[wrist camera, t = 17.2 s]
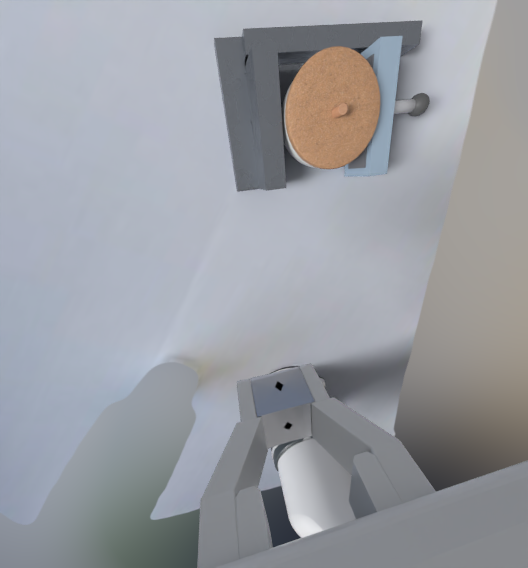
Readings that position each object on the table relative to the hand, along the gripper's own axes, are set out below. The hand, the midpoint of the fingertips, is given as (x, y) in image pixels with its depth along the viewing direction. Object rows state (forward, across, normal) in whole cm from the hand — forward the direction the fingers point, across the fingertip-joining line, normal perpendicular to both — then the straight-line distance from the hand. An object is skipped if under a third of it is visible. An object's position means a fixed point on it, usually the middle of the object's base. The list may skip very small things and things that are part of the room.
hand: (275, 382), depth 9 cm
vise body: (+29, -14, -13) cm, 35 cm away
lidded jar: (+29, -13, -12) cm, 34 cm away
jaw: (+29, -23, -12) cm, 39 cm away
